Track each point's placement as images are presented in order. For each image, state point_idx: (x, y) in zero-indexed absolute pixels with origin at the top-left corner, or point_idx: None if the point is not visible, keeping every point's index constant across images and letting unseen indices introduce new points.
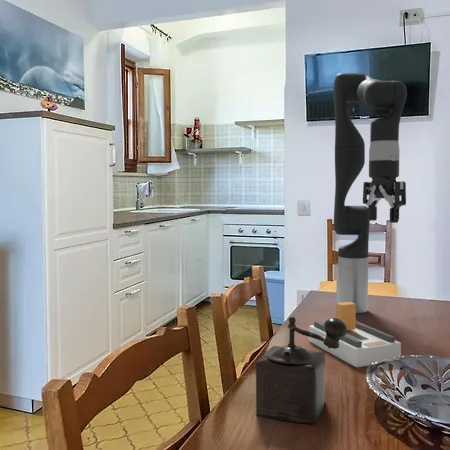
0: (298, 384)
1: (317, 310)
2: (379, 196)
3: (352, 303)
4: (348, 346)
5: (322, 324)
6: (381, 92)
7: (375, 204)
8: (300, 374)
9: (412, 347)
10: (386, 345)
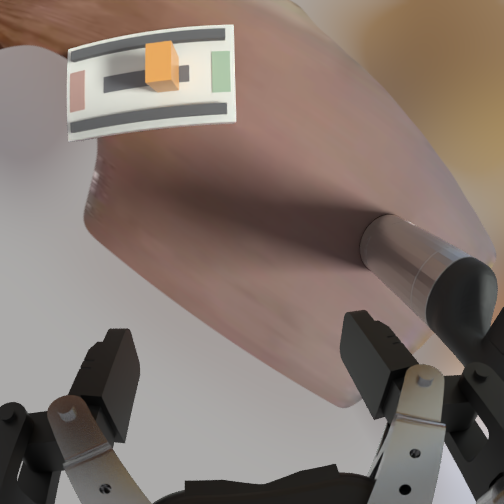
0: None
1: (414, 177)
2: (274, 491)
3: (151, 76)
4: (90, 43)
5: (196, 33)
6: None
7: (388, 425)
8: None
9: (128, 200)
10: (67, 109)
